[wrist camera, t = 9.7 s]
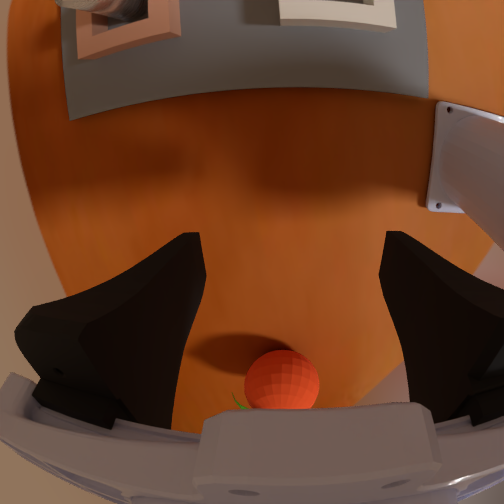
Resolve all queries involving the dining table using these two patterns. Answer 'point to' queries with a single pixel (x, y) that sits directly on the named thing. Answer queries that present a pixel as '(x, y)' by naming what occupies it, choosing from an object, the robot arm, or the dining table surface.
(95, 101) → the board
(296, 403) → the clementine
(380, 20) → the pin mount
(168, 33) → the socket
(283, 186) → the dining table surface
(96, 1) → the lock pin
